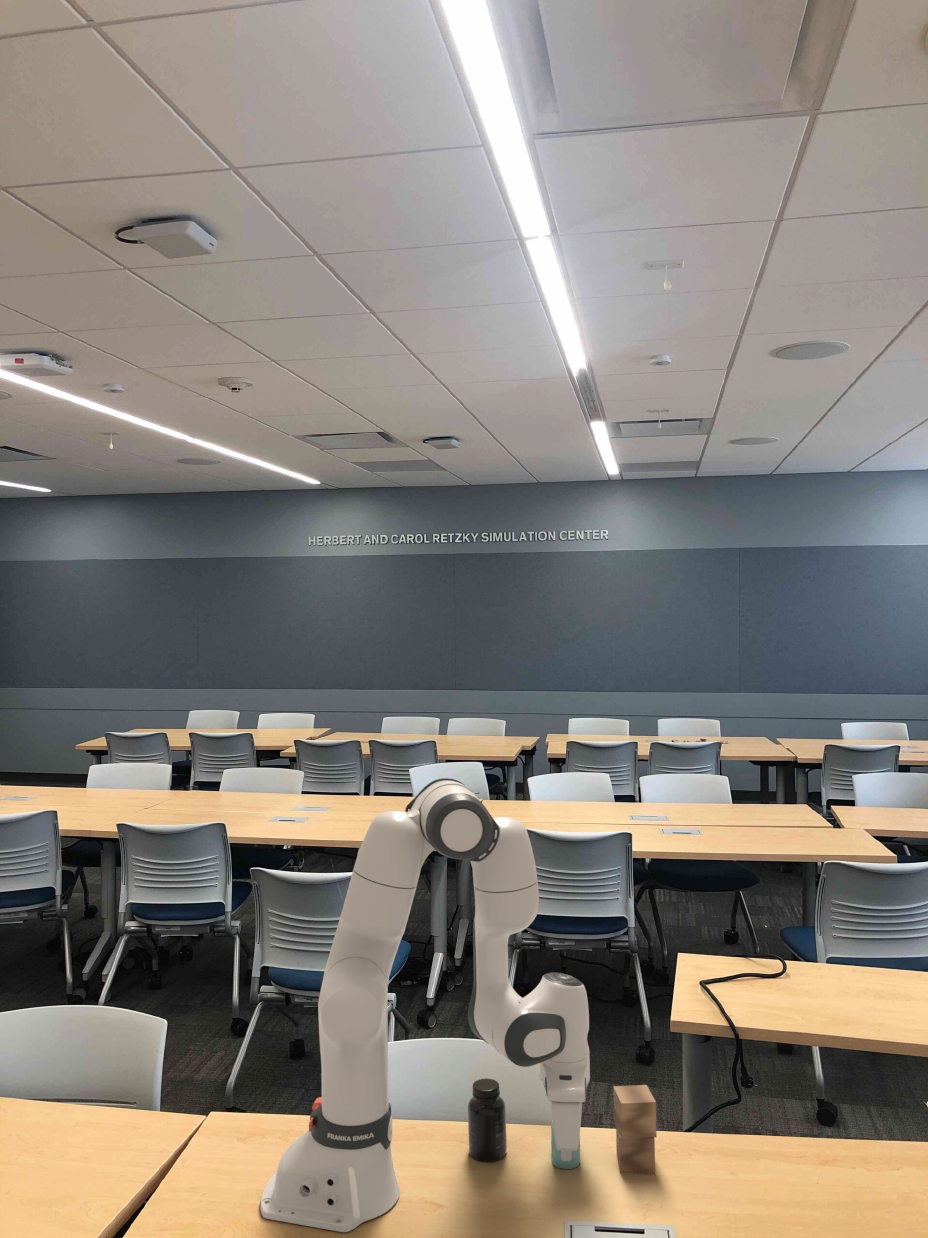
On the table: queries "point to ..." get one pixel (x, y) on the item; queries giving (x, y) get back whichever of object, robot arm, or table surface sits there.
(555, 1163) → the teal rounded cylinder
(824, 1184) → the table surface
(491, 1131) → the supplement bottle
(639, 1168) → the tower base
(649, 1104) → the tower top
